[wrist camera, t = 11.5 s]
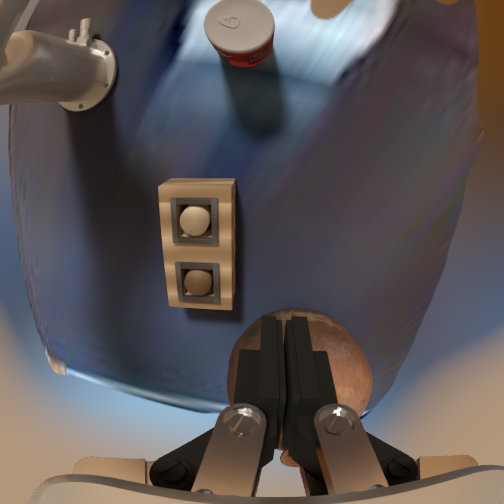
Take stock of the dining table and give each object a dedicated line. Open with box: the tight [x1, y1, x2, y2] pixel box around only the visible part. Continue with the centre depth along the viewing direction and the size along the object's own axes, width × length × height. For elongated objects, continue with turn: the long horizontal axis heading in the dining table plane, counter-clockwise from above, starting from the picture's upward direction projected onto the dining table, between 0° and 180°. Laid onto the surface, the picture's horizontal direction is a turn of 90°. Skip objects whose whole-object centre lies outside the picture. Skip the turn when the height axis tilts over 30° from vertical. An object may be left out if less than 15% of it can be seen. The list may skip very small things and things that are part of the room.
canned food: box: [204, 0, 275, 67], centre depth 33 cm, size 8×8×11 cm
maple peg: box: [180, 204, 211, 236], centre depth 45 cm, size 4×4×7 cm
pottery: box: [227, 308, 372, 467], centre depth 46 cm, size 23×23×25 cm
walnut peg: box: [184, 269, 213, 295], centre depth 49 cm, size 4×4×7 cm
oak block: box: [158, 178, 235, 310], centre depth 47 cm, size 19×10×7 cm, turn 179°
